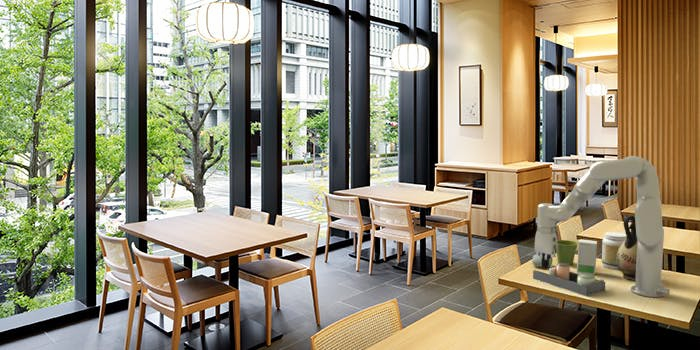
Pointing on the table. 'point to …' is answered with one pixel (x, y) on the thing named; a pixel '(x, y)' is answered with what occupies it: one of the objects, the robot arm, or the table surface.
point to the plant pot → (566, 251)
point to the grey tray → (571, 283)
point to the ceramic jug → (628, 250)
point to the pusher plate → (552, 271)
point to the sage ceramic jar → (585, 278)
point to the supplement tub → (611, 248)
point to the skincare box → (586, 256)
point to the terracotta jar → (563, 270)
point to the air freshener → (540, 261)
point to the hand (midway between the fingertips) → (545, 267)
